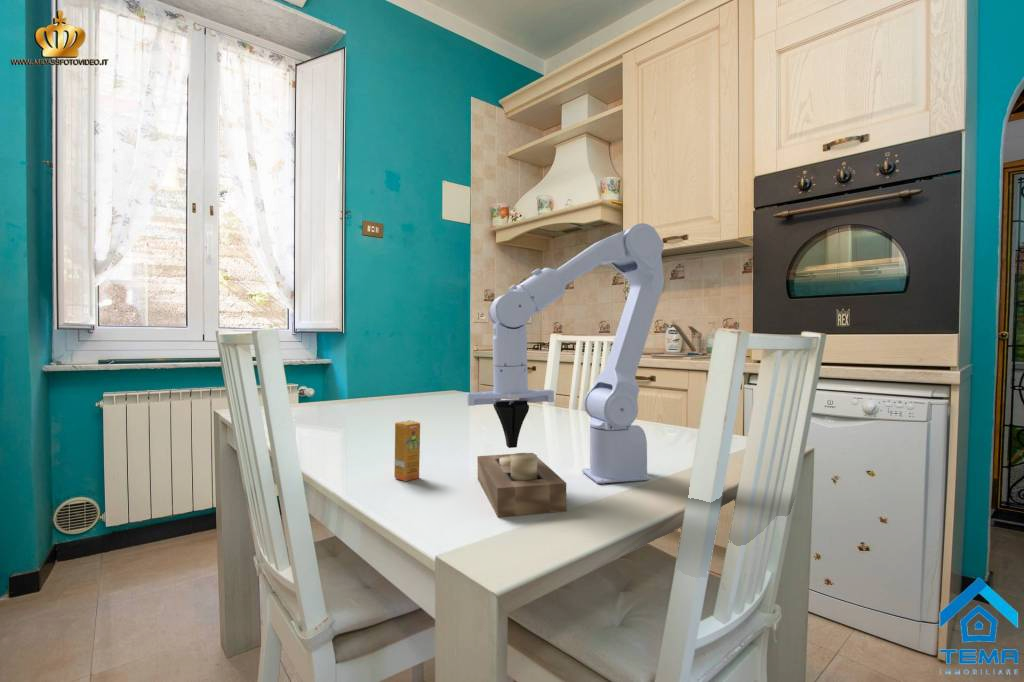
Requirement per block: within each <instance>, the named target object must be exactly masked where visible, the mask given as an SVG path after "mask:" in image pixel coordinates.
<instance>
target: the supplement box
mask: <svg viewBox="0 0 1024 682" xmlns="http://www.w3.org/2000/svg"><path fill="white" fill-rule="evenodd" d="M394 431H395V432H394V479H396V480H399V481H402V482H409V481H412V480H415V479H419V478H420V458H421V457H420V455H421V454H420V453H421V451H420V448H421V446H420V445H421V422H419V421H415V420H402V421H397V422H396V421H395V423H394Z"/></svg>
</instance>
